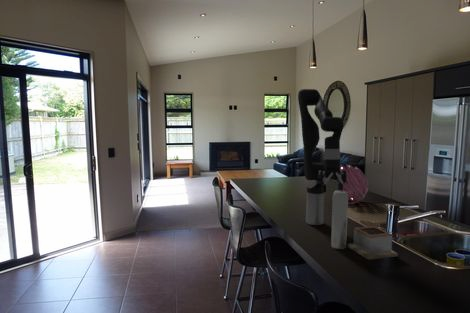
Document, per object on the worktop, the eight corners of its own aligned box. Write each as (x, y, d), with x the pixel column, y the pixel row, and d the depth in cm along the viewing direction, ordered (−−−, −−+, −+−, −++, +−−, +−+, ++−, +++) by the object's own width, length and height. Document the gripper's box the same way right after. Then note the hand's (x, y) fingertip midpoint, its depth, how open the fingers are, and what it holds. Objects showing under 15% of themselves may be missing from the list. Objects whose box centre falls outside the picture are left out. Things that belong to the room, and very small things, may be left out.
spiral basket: (317, 176, 209) (353, 154, 205) (318, 179, 236) (350, 160, 231) (341, 212, 201) (379, 190, 197) (340, 211, 228) (373, 192, 223)
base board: (347, 246, 139) (347, 243, 139) (374, 243, 142) (374, 241, 142) (368, 259, 125) (368, 256, 125) (397, 256, 129) (397, 253, 129)
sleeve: (353, 245, 138) (354, 227, 137) (374, 242, 140) (374, 226, 139) (369, 254, 127) (370, 236, 127) (391, 252, 130) (392, 234, 129)
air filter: (334, 242, 144) (336, 189, 141) (348, 246, 139) (350, 191, 137) (328, 246, 139) (330, 191, 136) (342, 250, 134) (345, 193, 132)
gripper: (340, 157, 156) (340, 190, 157) (315, 158, 153) (315, 191, 153) (349, 158, 149) (349, 192, 149) (322, 159, 145) (323, 193, 146)
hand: (332, 191), depth 151 cm, fingers open, 8 cm apart
